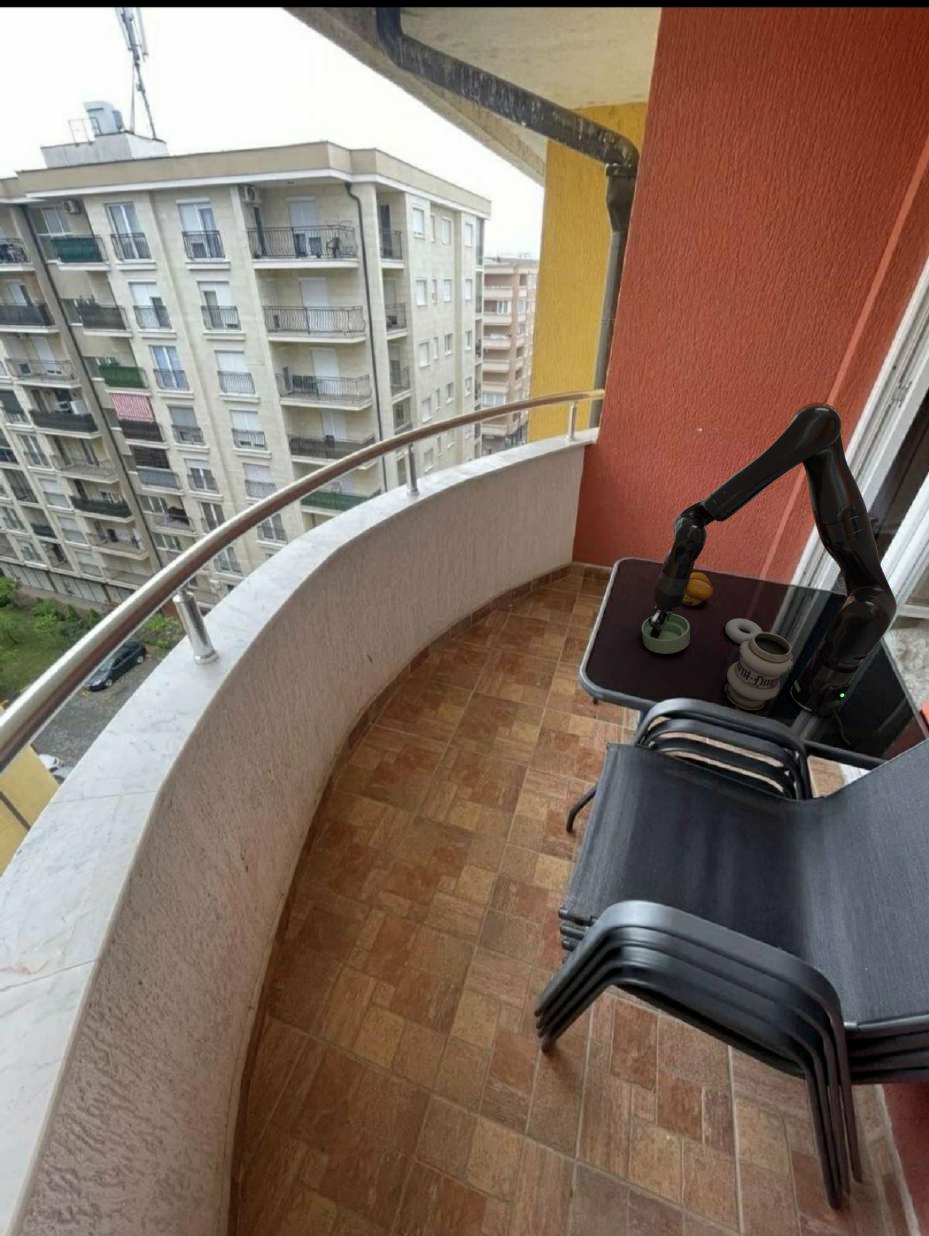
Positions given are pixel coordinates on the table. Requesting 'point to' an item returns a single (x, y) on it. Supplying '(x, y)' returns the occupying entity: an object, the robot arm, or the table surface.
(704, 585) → the cheeseburger
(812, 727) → the table surface
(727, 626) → the donut
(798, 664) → the table surface
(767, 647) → the apothecary jar
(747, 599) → the table surface
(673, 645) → the bowl
